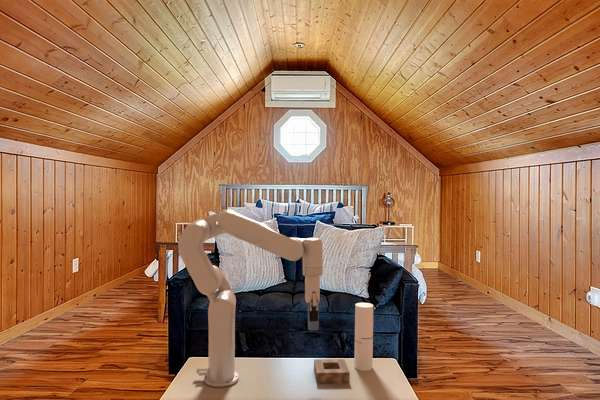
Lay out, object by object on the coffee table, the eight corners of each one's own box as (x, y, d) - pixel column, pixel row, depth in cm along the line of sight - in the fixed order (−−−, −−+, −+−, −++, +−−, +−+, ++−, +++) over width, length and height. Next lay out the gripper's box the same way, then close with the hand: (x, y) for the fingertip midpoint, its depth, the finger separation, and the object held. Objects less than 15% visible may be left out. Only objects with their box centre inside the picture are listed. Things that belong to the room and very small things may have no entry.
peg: (308, 330, 156) (308, 298, 156) (307, 327, 160) (307, 295, 160) (319, 330, 156) (318, 298, 156) (318, 326, 160) (317, 295, 160)
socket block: (316, 383, 153) (317, 372, 153) (313, 369, 165) (314, 359, 165) (349, 383, 153) (349, 372, 153) (344, 369, 165) (344, 359, 165)
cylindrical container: (372, 371, 164) (373, 308, 163) (353, 369, 165) (354, 306, 165) (372, 364, 171) (373, 303, 170) (354, 362, 172) (355, 302, 172)
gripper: (301, 267, 166) (301, 313, 166) (304, 275, 149) (304, 326, 150) (320, 266, 166) (320, 312, 167) (325, 275, 150) (325, 326, 150)
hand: (313, 318), depth 158 cm, fingers closed on peg, 4 cm apart
